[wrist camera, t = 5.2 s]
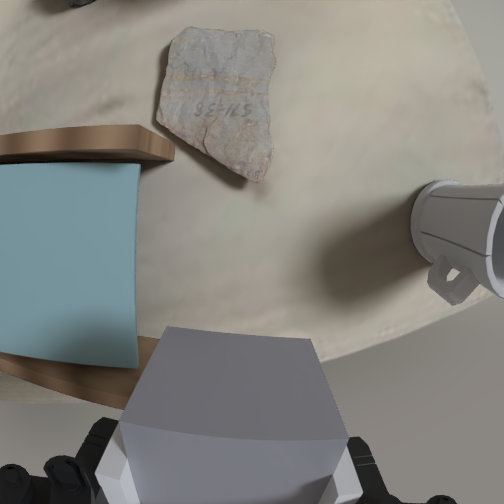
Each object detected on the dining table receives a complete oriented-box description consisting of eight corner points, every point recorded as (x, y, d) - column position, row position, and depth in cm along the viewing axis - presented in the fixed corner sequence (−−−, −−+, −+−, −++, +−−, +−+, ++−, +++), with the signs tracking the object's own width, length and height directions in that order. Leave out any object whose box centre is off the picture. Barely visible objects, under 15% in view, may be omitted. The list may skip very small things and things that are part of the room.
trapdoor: (-48, 328, 21) (-71, 349, 16) (-63, 167, 17) (-93, 168, 12) (140, 355, 26) (136, 387, 22) (144, 159, 23) (136, 154, 18)
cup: (461, 280, 29) (532, 318, 18) (396, 276, 29) (465, 322, 17) (475, 187, 27) (555, 195, 16) (411, 171, 27) (491, 169, 15)
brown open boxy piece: (-8, 312, 30) (-56, 342, 20) (-15, 152, 26) (-73, 151, 16) (166, 352, 31) (138, 413, 21) (175, 144, 26) (138, 124, 17)
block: (170, 427, 14) (145, 520, 8) (167, 325, 13) (119, 420, 7) (288, 437, 14) (302, 532, 8) (310, 338, 13) (349, 438, 7)
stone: (267, 184, 28) (269, 184, 25) (152, 174, 27) (144, 174, 25) (282, 37, 25) (285, 25, 22) (174, 31, 24) (168, 20, 22)
